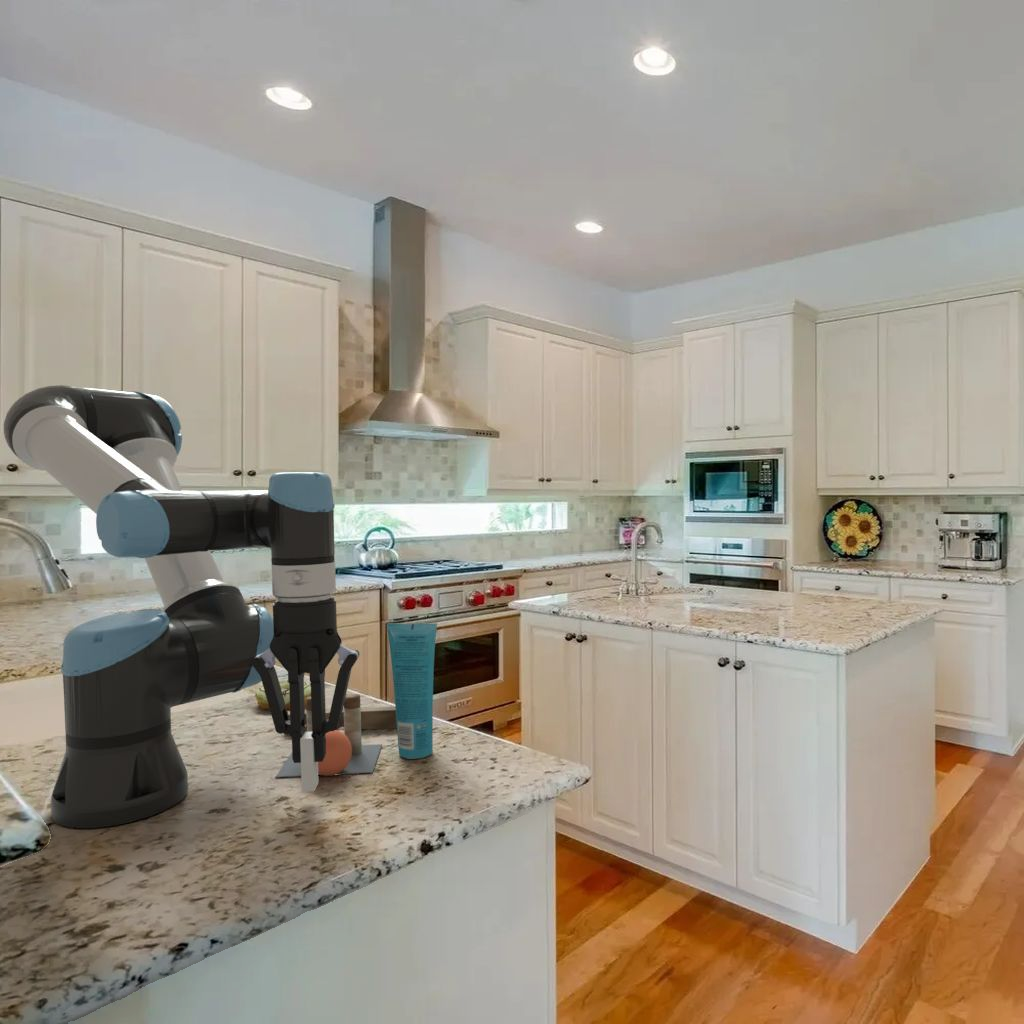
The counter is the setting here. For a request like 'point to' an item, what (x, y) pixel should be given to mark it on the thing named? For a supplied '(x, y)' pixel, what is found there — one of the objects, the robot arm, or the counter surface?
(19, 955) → the counter surface
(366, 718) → the back rail
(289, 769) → the plate
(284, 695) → the decorated donut
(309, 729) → the peg
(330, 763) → the ball
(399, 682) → the tube
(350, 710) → the rear pin left
